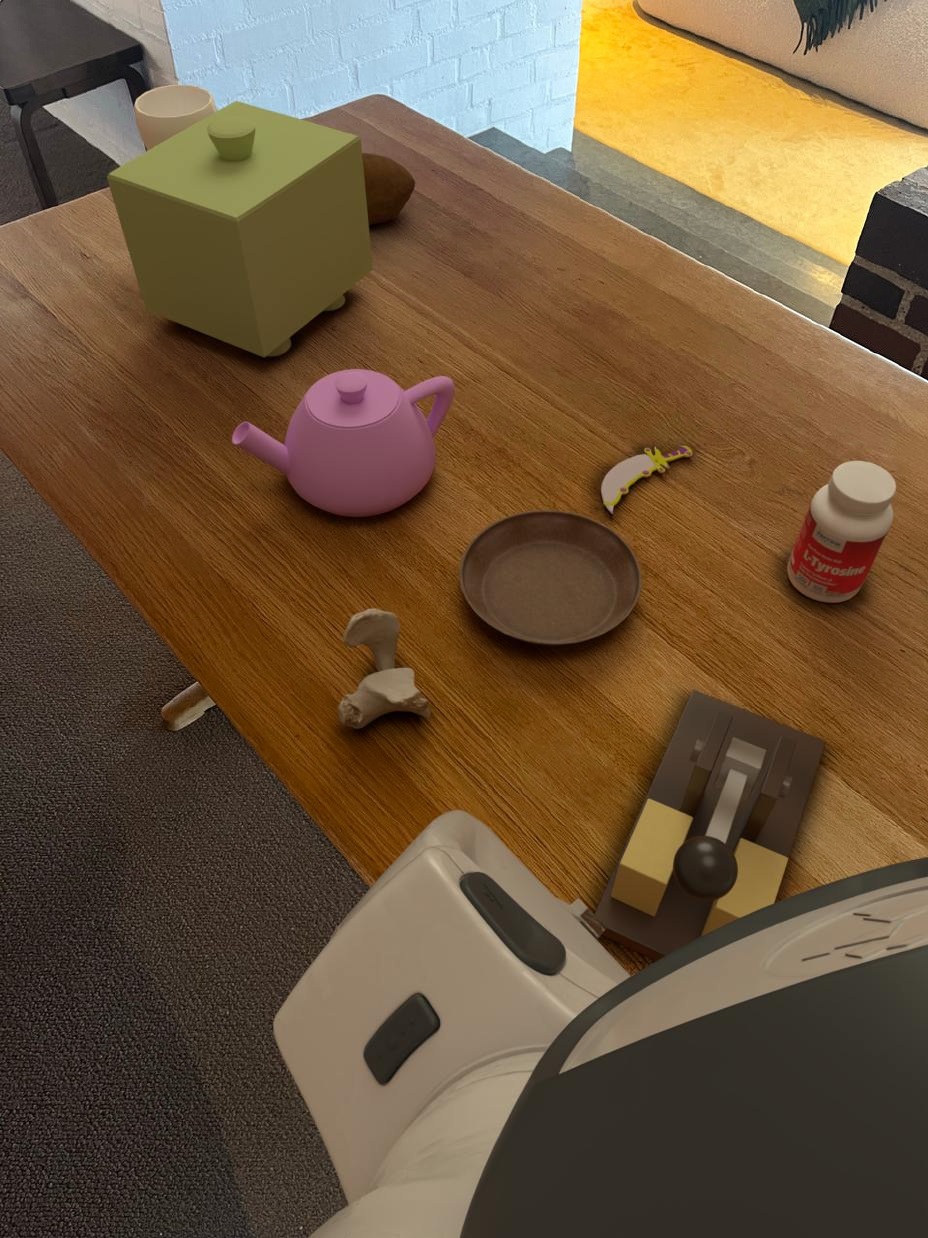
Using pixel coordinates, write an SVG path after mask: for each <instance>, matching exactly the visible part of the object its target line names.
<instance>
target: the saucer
mask: <svg viewBox="0 0 928 1238" xmlns="http://www.w3.org/2000/svg"><path fill="white" fill-rule="evenodd" d="M641 570H642V569H641V565H640V564H639V561H638V558H637V556H636V554H635V552H634V551H633V549H632V548H631V547H630V545H629V544H628V543H627V542H626V540H624V538H623V537H622V536H621V535H620V534H618V533H617V532H616V531H615V530H613V529H612V528H611V527H609V526H607V525H605V524H603V523H602V522H600V521H597V520H595V519H593V518H590V517H589V516H585V515H582V514H580V513H574V512H570V511H564V510H555V509H554V510H553V509H544V510H543V509H541V510H540V509H539V510H530V511H529V510H528V511H522V512H517V513H514V514H510V515H507V516H505V517H503V518H500V519H498V520H496V521H494V522H492V523H491V524H489V525H488V526H486V527H485V528H483V529H482V530H481V531H479V532H478V533H477V534H476V535H475V536H474V537H473V538H472V540H471V541H470V542H469V543H468V545H467V546H466V548H465V550H464V552H463V554H462V557H461V560H460V564H459V572H458V573H459V574H458V575H459V576H458V577H459V586H460V588H461V592H462V594H463V596H464V599H465V600H466V602H467V603H468V605H469V606H470V608H471V609H472V610H473V612H474V613H475V614H476V615H477V616H478V617H479V618H480V619H481V620H483V621H484V623H486V624H487V625H488V626H490V627H491V628H493V629H495V630H496V631H497V632H500V633H501V634H503V635H505V636H507V637H509V638H512V639H515V640H517V641H520V642H524V643H528V644H532V645H539V646H548V647H558V646H559V647H560V646H570V645H575V644H579V643H584V642H587V641H591V639H596V638H597V637H600V636H602V635H604V634H606V633H608V632H609V631H611V630H614V629H616V627H617V626H618V625H620V624H621V623H622V622H623V621H625V619H626V618H627V617H628V616H629V615H630V614H631V612H632V611H633V610H634V608H635V607H636V604H637V603H638V601H639V598H640V594H641V592H642V583H643V582H642V581H643V580H642V571H641Z"/></svg>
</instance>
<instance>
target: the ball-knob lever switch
mask: <svg viewBox="0 0 928 1238" xmlns="http://www.w3.org/2000/svg"><path fill="white" fill-rule="evenodd" d="M765 755H766V750H764V749H762V748H759V747H757V746H754V745H752V744H749V743H747V742H744V741H742V740H739V739H737V738H734V737H733V738H732V739H731V742H730V745H729V747H728V750H727V752H726V755H725V757H724V760H723V762H722V765H721V767H720V770H719V773H718V775H717V778H716V780H715V783H714V785H713V786H714V787H715V788H717V789H720V790H722V791H721V794H720V797H719V799H718V802H717V805H716V807H715V810H714V813H713V815H712V818H711V821H710V824H709V826H708V829H707V832H706V834H705V836H697V837H693V838H691V839H689V840H687V841H685V842H684V843H683V844H682V845H681V846H680V847H679V849H678V850H677V852H676V854H675V857H674V860H673V872H674V876H675V879H676V881H677V883H678V885H679V886H680V888H681V889H682V890H683V891H684V892H685V893H686V894H688V895H689V896H691V897H693V898H695V899H698V900H702V901H712V900H717V899H719V898H722V897H723V896H725V895H726V894H728V893H729V892H730V890H731V889H732V888H733V886H734V885H735V882H736V880H737V875H738V865H737V861H736V858H735V856H734V854H733V852H732V850H731V849H730V848H729V847H728V846H727V845H726V841H727V838H728V835H729V832H730V829H731V826H732V823H733V820H734V817H735V814H736V811H737V808H738V805H739V802H740V799H744V800H746V801H748V800H749V798H750V795H751V793H752V790H753V788H754V786H755V783H756V781H757V778H758V776H759V773H760V771H761V768H762V765H763V762H764V758H765Z"/></svg>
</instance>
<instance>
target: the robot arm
mask: <svg viewBox="0 0 928 1238" xmlns="http://www.w3.org/2000/svg"><path fill="white" fill-rule="evenodd" d="M594 914H595V913H594V912H592V910H591V909H590V908H589V907H588V906H587V905H586V904H585V903H584V902H583V901H582V900H581V899H580V897H579V898H578V897H577V899H575V900H574V901H573V902H572V903H570V904H569V903H568V902H566V901H564V900H562V899H560V898H558V897H557V896H556V895H554V894H553V893H552V892H551V891H550V890H549V889H548V888H547V887H546V886H545V884H543V882H541V881H540V880H539V878H537V876H535V874H534V873H532V871H531V870H530V869H529V868H528V867H527V866H526V865H525V864H524V863H523V862H522V861H521V859H519V858H518V857H517V855H515V853H514V852H512V850H511V849H509V848H508V847H507V845H506V844H505V843H504V842H503V841H502V840H501V839H500V837H499V836H498V835H497V834H496V833H495V832H494V831H493V830H492V829H491V828H490V827H488V826H487V825H486V824H485V823H484V822H483V821H481V820H480V819H478V818H476V817H475V816H474V815H472V814H471V813H470V814H469V813H468V812H466V811H464V810H462V809H453V810H449V811H447V812H444V813H442V814H440V815H439V816H437V817H436V818H434V819H433V820H432V821H430V822H429V824H428V825H427V826H426V827H425V828H424V829H423V830H422V831H421V832H420V833H419V834H418V835H417V836H416V838H414V839H413V841H412V842H411V843H410V844H409V845H408V846H407V847H406V848H405V849H404V850H403V851H402V853H400V854H399V856H398V857H396V859H395V860H394V861H393V862H392V863H391V864H390V865H389V866H388V868H387V869H385V871H384V872H383V873H382V874H381V875H380V877H378V879H377V880H376V881H375V882H374V884H373V885H372V886H371V887H370V888H368V890H367V891H366V893H364V895H363V896H362V897H361V899H360V900H358V902H357V903H356V904H355V905H354V907H353V908H352V909H351V910H350V911H349V913H348V914H347V915H346V916H345V917H344V918H343V919H342V921H341V922H339V924H338V925H337V926H336V928H335V929H334V931H333V933H332V934H331V936H330V938H329V941H328V943H327V944H326V945H325V946H324V947H323V948H322V950H321V951H320V952H319V953H318V955H317V956H316V957H315V959H314V960H313V961H312V962H311V964H310V965H309V966H308V967H307V969H306V971H305V972H304V973H303V975H302V976H301V977H300V979H299V980H298V981H297V982H296V984H295V985H294V987H293V989H292V990H291V991H290V992H289V994H288V996H287V997H286V998H285V1001H284V1002H283V1003H282V1005H281V1006H280V1008H279V1009H278V1011H277V1012H276V1014H275V1016H274V1018H273V1023H272V1029H273V1035H274V1040H275V1043H276V1045H277V1048H278V1050H279V1052H280V1055H281V1057H282V1058H283V1061H284V1064H285V1065H286V1067H287V1069H288V1071H289V1072H290V1074H291V1077H292V1078H293V1080H294V1082H295V1084H296V1086H297V1089H298V1090H299V1093H300V1094H301V1097H302V1098H303V1100H304V1102H305V1105H306V1107H307V1109H308V1112H310V1115H311V1117H312V1119H313V1121H314V1124H315V1126H316V1128H317V1130H318V1132H319V1134H320V1136H321V1139H322V1142H323V1144H324V1145H325V1148H326V1150H327V1153H328V1155H329V1158H330V1160H331V1162H332V1165H333V1167H334V1169H335V1172H336V1175H337V1177H338V1180H339V1183H340V1185H341V1188H342V1192H343V1194H344V1196H345V1199H346V1202H347V1206H345V1207H343V1208H342V1209H340V1210H339V1211H337V1212H336V1213H335V1214H334V1215H333V1216H331V1217H330V1218H329V1219H327V1220H326V1221H325V1222H324V1223H323V1224H321V1225H320V1226H319V1227H318V1228H316V1229H315V1231H313V1232H312V1234H310V1235H309V1236H308V1238H928V856H926V857H920V858H916V859H911V860H905V861H901V862H898V863H897V862H896V863H894V864H893V863H892V864H890V865H889V864H888V865H885V866H882V867H878V868H874V869H870V870H867V871H863V872H860V873H857V874H856V873H855V874H854V875H849V876H847V877H844V878H840V879H838V880H834V881H832V882H829V883H826V884H823V885H822V884H821V885H820V886H816V887H814V888H811V889H808V890H805V891H802V892H800V893H796V894H794V895H792V896H788V897H786V898H783V899H781V900H778V901H775V902H774V904H771V905H769V906H766V907H764V908H761V909H759V910H757V911H754V912H752V913H750V914H748V915H745V916H743V917H741V918H739V919H736V920H734V921H732V922H730V923H728V924H726V925H724V926H722V927H720V928H718V929H715V930H713V931H711V932H709V933H707V934H705V935H703V936H701V937H699V938H697V939H696V940H694V941H692V942H690V943H688V944H686V945H684V946H683V947H681V948H679V949H677V950H675V951H673V952H671V953H670V954H668V955H666V956H665V957H663V958H661V959H659V960H658V961H654V962H653V963H650V964H649V965H647V966H645V967H644V968H642V969H640V970H638V971H637V972H635V973H634V974H633V975H631V974H630V973H629V972H628V971H627V970H626V969H625V968H624V967H623V966H622V965H621V964H620V963H619V962H618V960H617V959H615V957H614V956H613V955H612V954H611V953H610V952H609V951H608V950H607V949H606V948H605V947H604V946H603V945H602V944H601V943H600V942H599V941H598V939H599V938H600V937H601V936H602V935H601V934H602V933H603V932H604V931H605V929H606V927H605V926H604V925H603V923H602V922H601V921H600V920H599V919H598V918H597V917H596V916H595V915H594Z"/></svg>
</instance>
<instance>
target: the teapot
mask: <svg viewBox="0 0 928 1238" xmlns="http://www.w3.org/2000/svg"><path fill="white" fill-rule="evenodd" d="M433 395H435V396H434V401H433V405H432V407H431V410H430V413H429V415H428V417H427V419H426V418H425V415H424V414H423V412H422V411H421V409H420V407H419V406H418V405H417V404H416V403H418V402H420V401H422V400H423V399H426V398H428V397H430V396H433ZM454 397H455V384H454V381H453V380H452V378H450V377H449V376H446V375H438V376H435V377H431V378H428V379H426V380H424V381H422V382H420V383H417V384H415V385H413V386H411V387H410V388H407V389H406V390H404V389H403V388H402V387H401V386H400V385H399V384H398V383H397V382H395V381H394V380H393V379H391V378H390V377H389V376H387V375H385V374H383V373H381V372H378V371H374V370H370V369H363V368H351V369H343V370H338V371H335V372H332V373H329V374H327V375H325V376H323V377H322V378H320V379H319V380H317V381H315V382H314V383H313V385H311V387H310V388H309V389H308V390H307V392H306V393H305V394H304V396H303V397H302V399H301V400H300V401H299V404H298V405H297V407H296V409H295V410H294V412H293V414H292V417H291V418H290V421H289V423H288V426H287V429H286V433H285V439H284V444H283V443H281V442H280V441H278V440H277V439H275V438H274V437H273V436H271V435H269V434H267V433H266V432H264V431H263V430H262V429H260V428H258V427H257V426H255V425H253V424H252V423H250V422H249V421H242V422H241V423H240V424H239V425H237V426H236V428H235V430H234V431H233V433H232V437H231V442H232V444H233V445H235V446H237V447H239V448H240V449H242V450H243V451H245V452H247V453H248V454H250V455H252V456H253V457H255V458H257V459H259V460H260V461H262V462H263V463H266V464H267V465H269V466H270V467H272V468H274V469H275V470H277V471H279V472H281V473H282V474H284V475H285V476H286V478H287V479H288V480H287V481H288V482H289V484H290V486H291V487H292V488H293V489H294V491H295V492H296V493H297V494H298V496H299V497H300V498H302V499H303V500H305V502H306V503H309V504H311V505H312V506H314V507H316V508H318V509H320V510H322V511H325V512H328V513H330V514H333V515H336V516H342V517H350V518H365V517H372V516H373V517H374V516H378V515H382V514H386V513H388V512H390V511H393V510H395V509H398V508H399V507H401V506H402V505H404V504H406V503H407V502H408V501H410V500H411V499H413V498H414V497H415V496H416V495H417V494H418V493H420V492H421V491H422V490H423V489H424V487H426V485H427V484H428V482H429V480H430V479H431V478H432V477H431V476H432V475H433V472H434V469H435V466H436V461H437V460H436V457H437V455H436V447H435V441H434V438H435V435H436V434H437V433H438V430H439V428H440V427H441V425H442V423H443V422H444V420H445V418H446V416H447V414H448V412H449V410H450V408H451V406H452V404H453V400H454Z"/></svg>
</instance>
